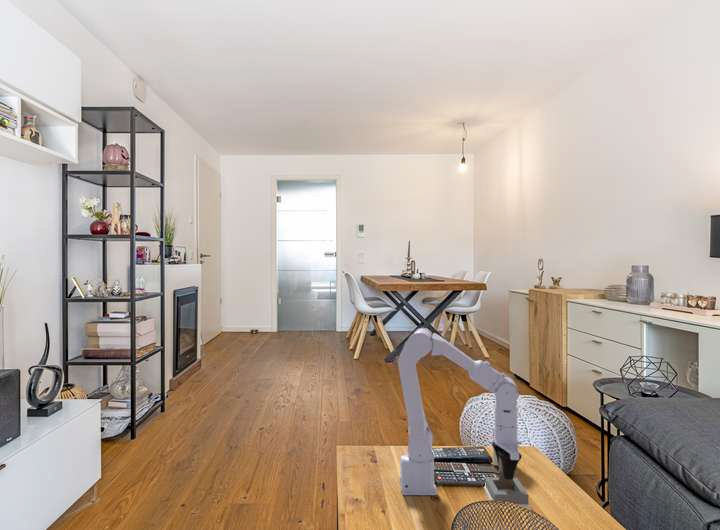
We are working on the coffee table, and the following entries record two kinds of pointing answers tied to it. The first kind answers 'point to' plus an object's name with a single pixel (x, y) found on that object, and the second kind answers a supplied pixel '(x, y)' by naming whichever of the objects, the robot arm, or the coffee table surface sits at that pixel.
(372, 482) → the coffee table surface
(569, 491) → the coffee table surface
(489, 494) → the socket board
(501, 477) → the walnut peg
